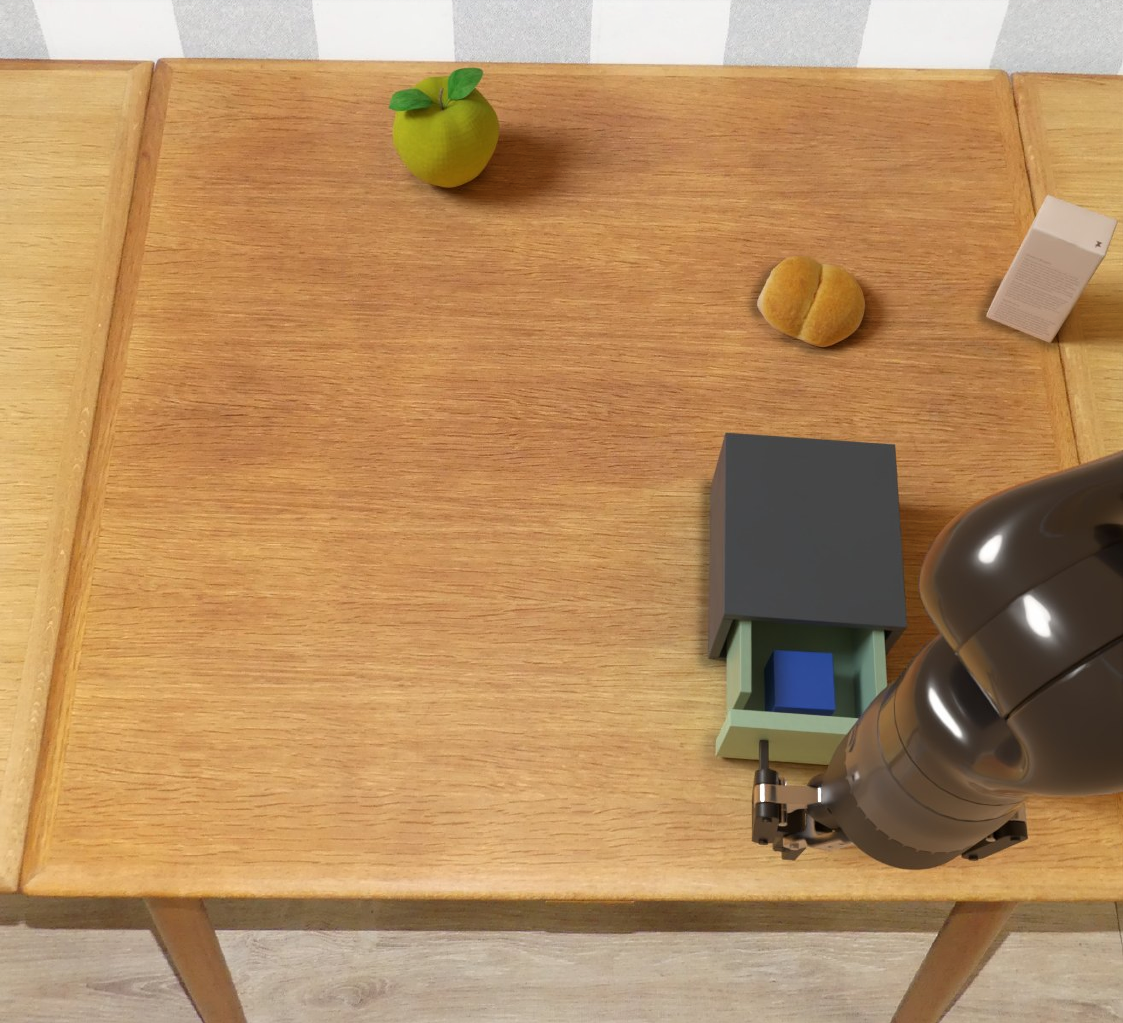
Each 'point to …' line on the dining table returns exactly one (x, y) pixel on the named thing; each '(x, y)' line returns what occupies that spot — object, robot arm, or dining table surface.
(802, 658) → the blue wooden toy cube
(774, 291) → the bread roll
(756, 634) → the drawer
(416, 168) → the fruit
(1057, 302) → the cosmetic box
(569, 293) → the dining table surface
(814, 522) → the cabinet
